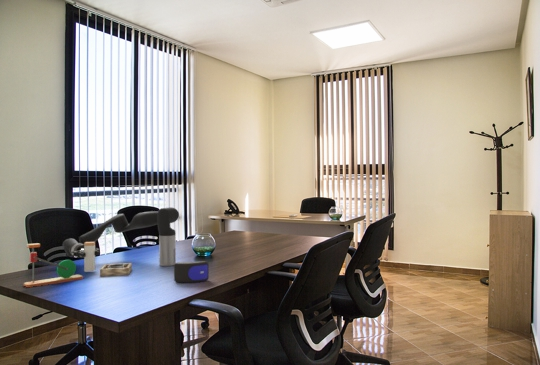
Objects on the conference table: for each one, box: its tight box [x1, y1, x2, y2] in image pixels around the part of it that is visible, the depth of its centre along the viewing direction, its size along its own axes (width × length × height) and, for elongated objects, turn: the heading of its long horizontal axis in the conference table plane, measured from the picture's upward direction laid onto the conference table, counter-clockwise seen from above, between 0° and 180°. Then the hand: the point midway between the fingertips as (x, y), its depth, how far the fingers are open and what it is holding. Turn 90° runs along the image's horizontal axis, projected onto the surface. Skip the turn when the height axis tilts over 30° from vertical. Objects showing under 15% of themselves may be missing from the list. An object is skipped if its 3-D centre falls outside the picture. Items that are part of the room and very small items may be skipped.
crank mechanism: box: [23, 242, 84, 288], centre depth 195 cm, size 25×7×19 cm, turn 135°
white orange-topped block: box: [83, 241, 96, 273], centre depth 216 cm, size 4×4×15 cm
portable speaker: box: [173, 260, 210, 284], centre depth 193 cm, size 16×5×9 cm, turn 103°
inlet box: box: [99, 262, 133, 277], centre depth 215 cm, size 14×14×4 cm
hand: (91, 254), depth 214 cm, fingers closed on white orange-topped block, 6 cm apart
